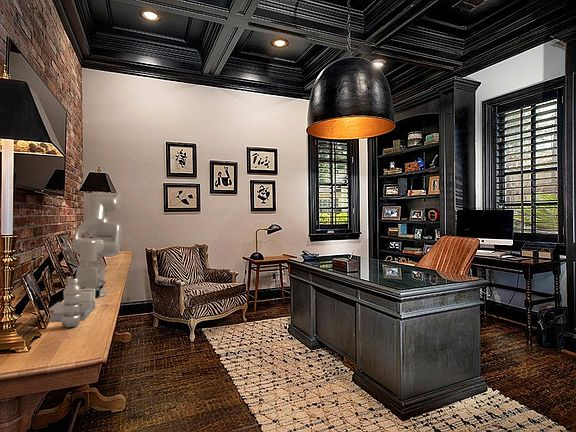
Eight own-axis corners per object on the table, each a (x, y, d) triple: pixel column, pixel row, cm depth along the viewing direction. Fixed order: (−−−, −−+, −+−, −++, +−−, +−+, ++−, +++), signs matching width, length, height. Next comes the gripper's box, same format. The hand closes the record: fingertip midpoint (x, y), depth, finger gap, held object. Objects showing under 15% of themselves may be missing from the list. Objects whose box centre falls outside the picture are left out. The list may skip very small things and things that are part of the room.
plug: (82, 303, 185) (83, 287, 185) (95, 302, 186) (96, 287, 186) (76, 308, 174) (77, 292, 174) (90, 308, 176) (91, 292, 176)
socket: (57, 309, 171) (57, 301, 171) (94, 308, 176) (95, 300, 176) (42, 321, 152) (42, 312, 152) (84, 320, 157) (84, 311, 157)
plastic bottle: (57, 327, 146) (60, 278, 146) (74, 323, 152) (76, 276, 152) (67, 330, 143) (69, 280, 143) (83, 326, 149) (85, 278, 149)
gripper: (108, 263, 185) (106, 296, 185) (70, 263, 180) (68, 297, 180) (105, 265, 178) (103, 299, 178) (66, 265, 173) (64, 300, 173)
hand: (86, 298), depth 179 cm, fingers open, 9 cm apart
